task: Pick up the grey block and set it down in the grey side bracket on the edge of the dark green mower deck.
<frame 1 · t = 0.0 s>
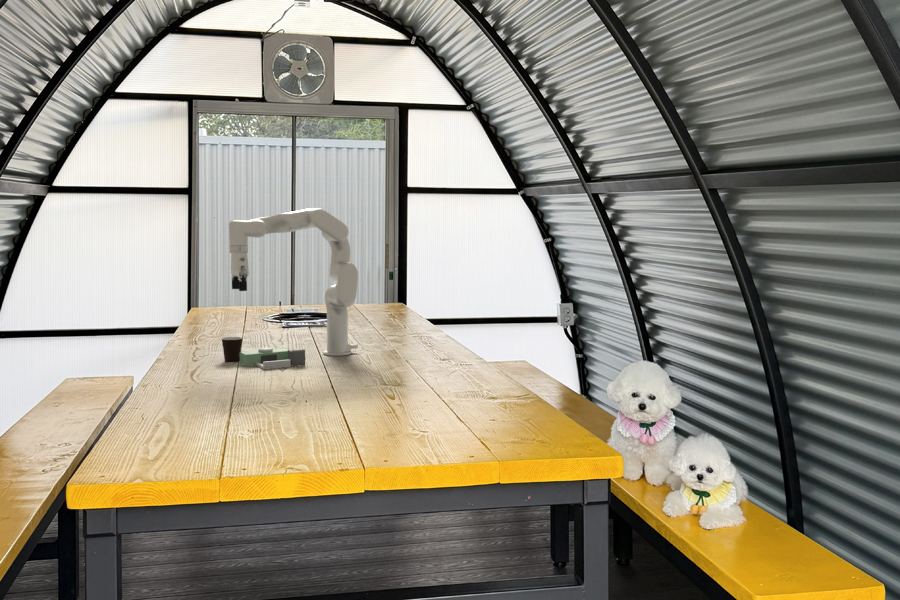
hand: (239, 289, 341), 31 cm above the table, tool pointing down, fingers open, 9 cm apart
coffee mug: (234, 361, 349), on the table
grey block: (296, 364, 341), on the table
mower deck: (265, 362, 344), on the table
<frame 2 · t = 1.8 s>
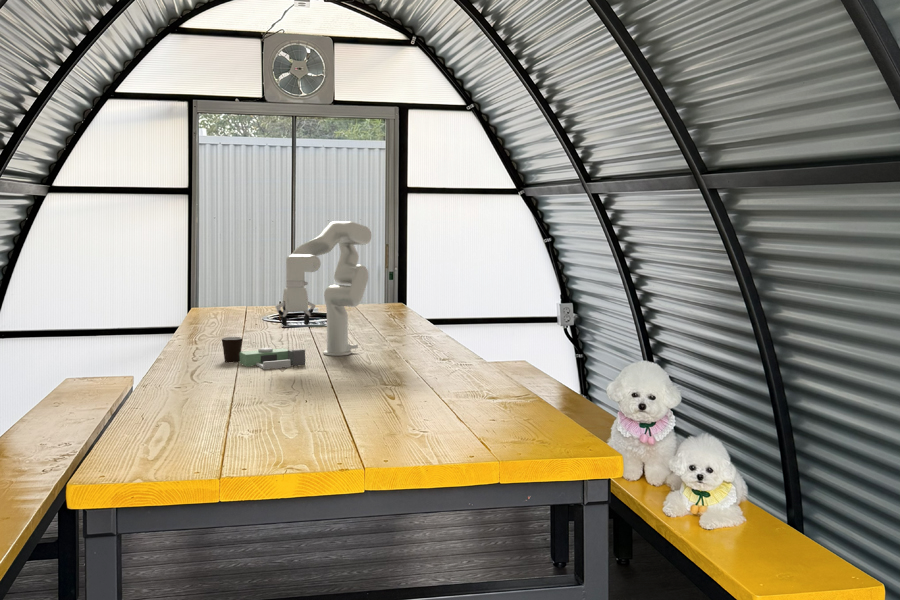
hand: (295, 325, 339), 17 cm above the table, tool pointing down, fingers open, 9 cm apart
nothing on the table moved.
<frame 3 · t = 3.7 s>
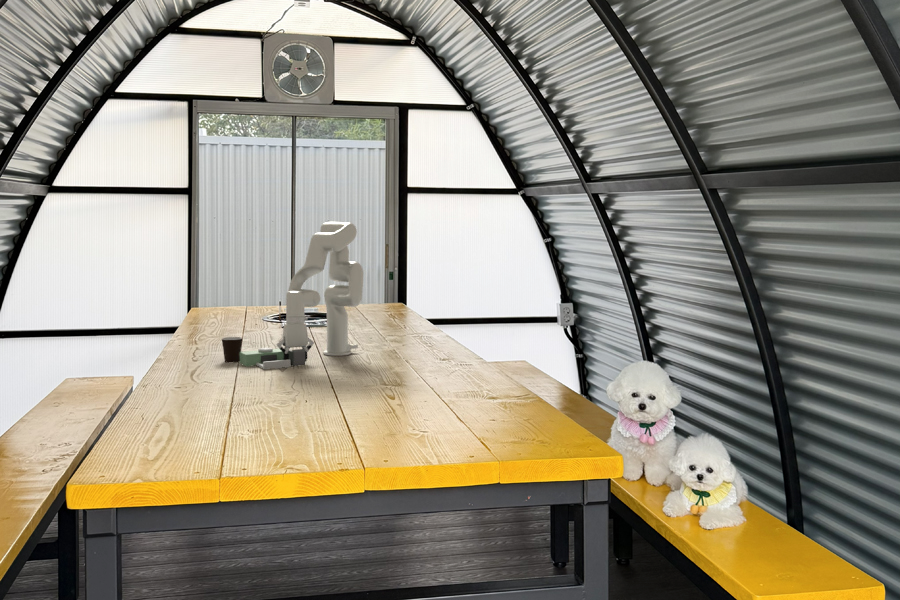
hand: (295, 361, 341), 1 cm above the table, tool pointing down, fingers open, 7 cm apart
nothing on the table moved.
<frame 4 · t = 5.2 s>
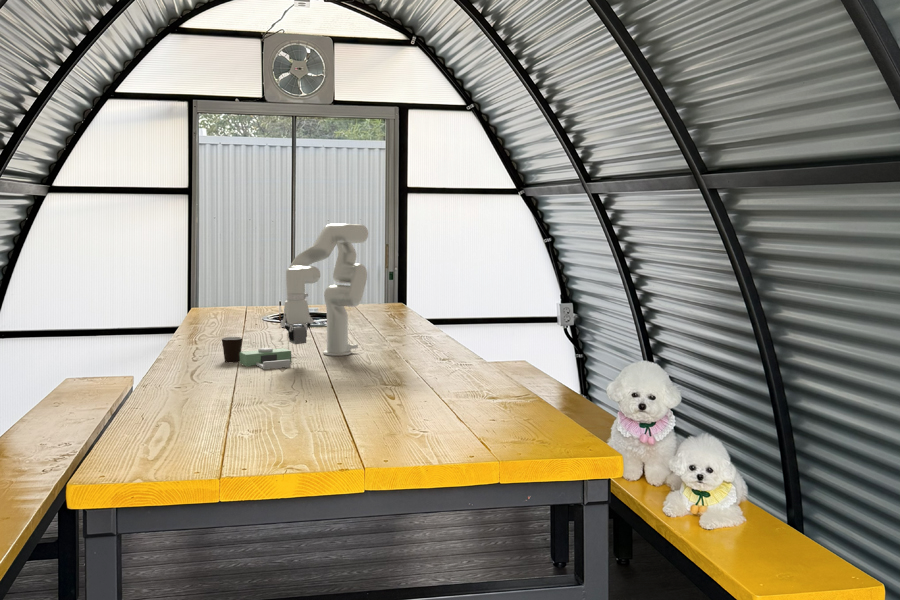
hand: (297, 339, 341), 11 cm above the table, tool pointing down, fingers closed on grey block, 5 cm apart
grey block: (297, 342, 341), point 9 cm above the table, touching gripper
everything else where it was.
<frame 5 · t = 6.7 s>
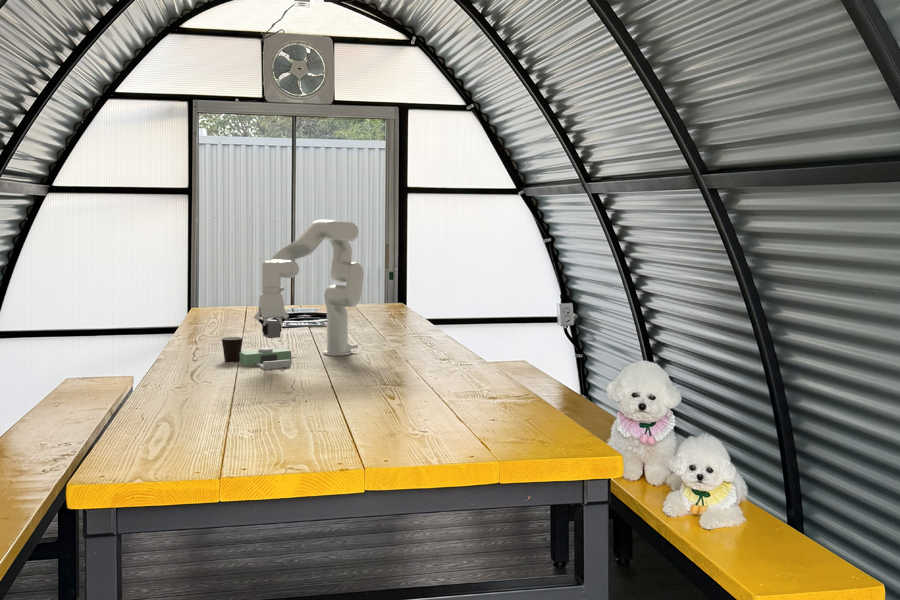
hand: (271, 333, 336), 14 cm above the table, tool pointing down, fingers closed on grey block, 5 cm apart
grey block: (271, 336, 336), point 12 cm above the table, touching gripper
everything else where it was.
when the fingers open (2 cm above the table, at t = 9.5 s): grey block stays where it is, resting in mower deck.
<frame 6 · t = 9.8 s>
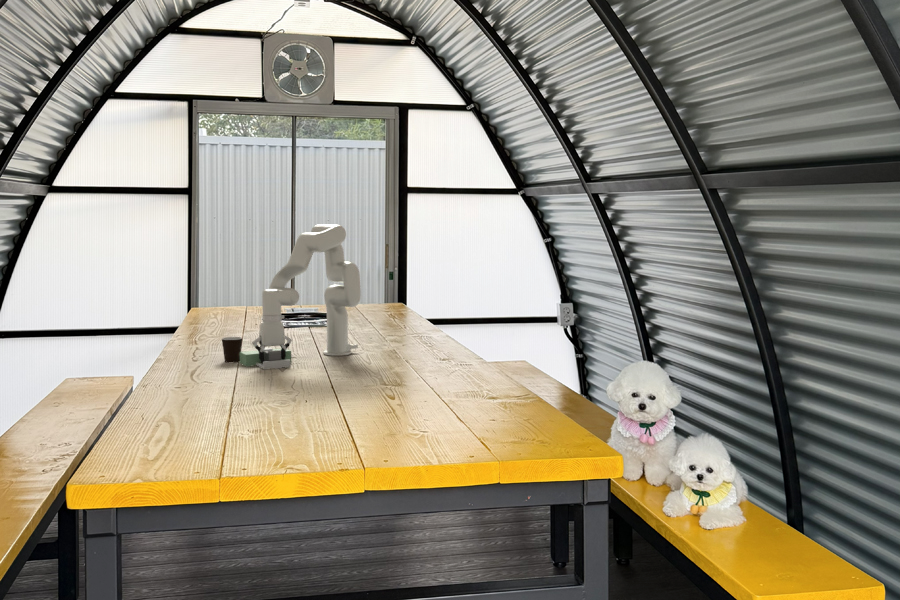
hand: (272, 359, 337), 3 cm above the table, tool pointing down, fingers open, 8 cm apart
grey block: (272, 366, 337), resting in mower deck
everything else where it was.
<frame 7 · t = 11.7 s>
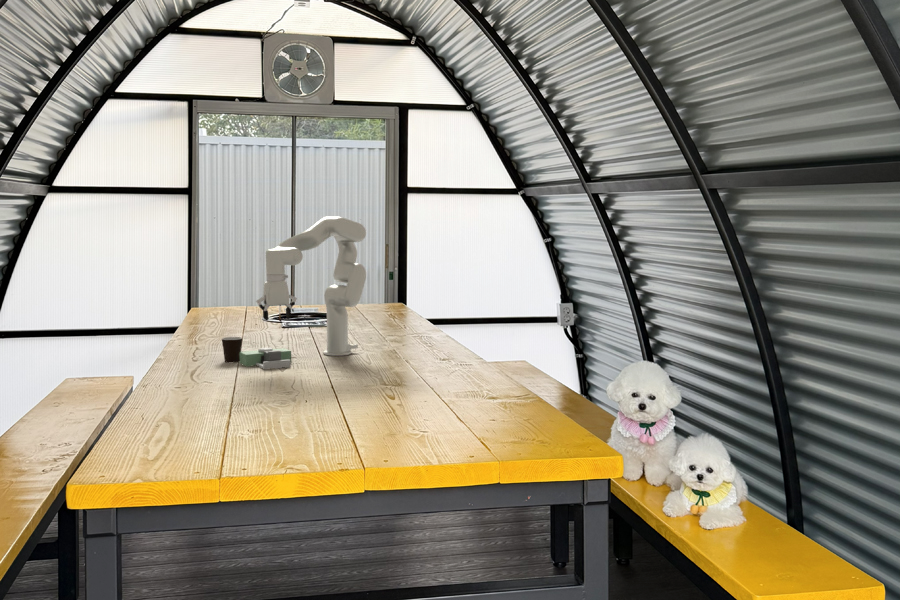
hand: (277, 318, 339), 19 cm above the table, tool pointing down, fingers open, 9 cm apart
nothing on the table moved.
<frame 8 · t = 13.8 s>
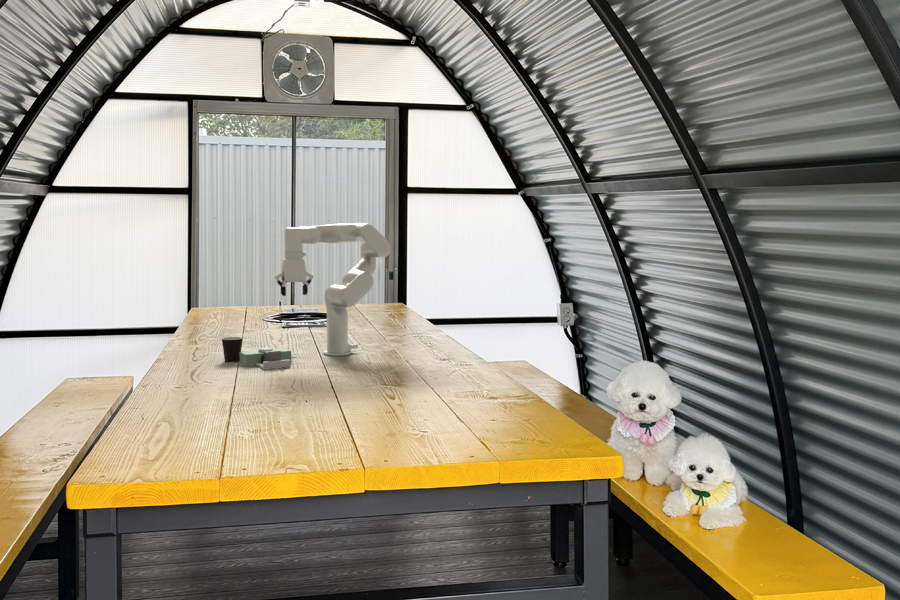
hand: (294, 295, 350), 28 cm above the table, tool pointing down, fingers open, 9 cm apart
nothing on the table moved.
at the end: grey block inside the target area (0.3 cm from its centre), resting in mower deck; grey block tilted 0°; the gripper is holding nothing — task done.
